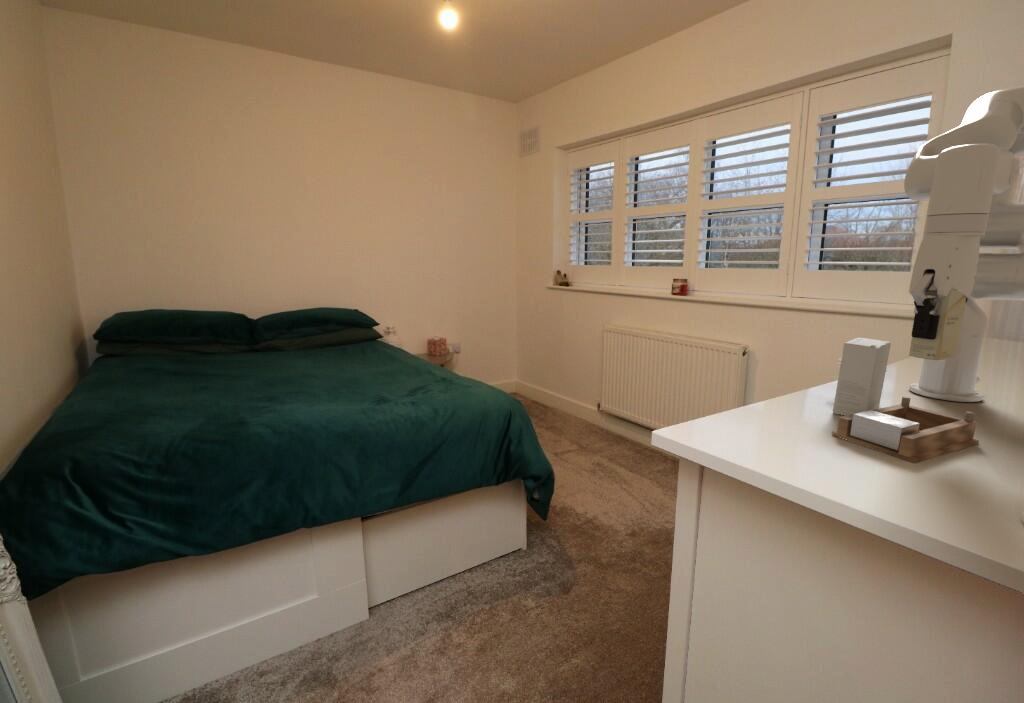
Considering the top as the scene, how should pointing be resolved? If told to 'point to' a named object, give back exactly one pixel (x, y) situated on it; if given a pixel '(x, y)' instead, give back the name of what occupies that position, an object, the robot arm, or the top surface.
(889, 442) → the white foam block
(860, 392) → the skincare box
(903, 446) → the holder
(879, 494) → the top surface
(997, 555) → the top surface
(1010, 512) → the top surface
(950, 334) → the skincare box
